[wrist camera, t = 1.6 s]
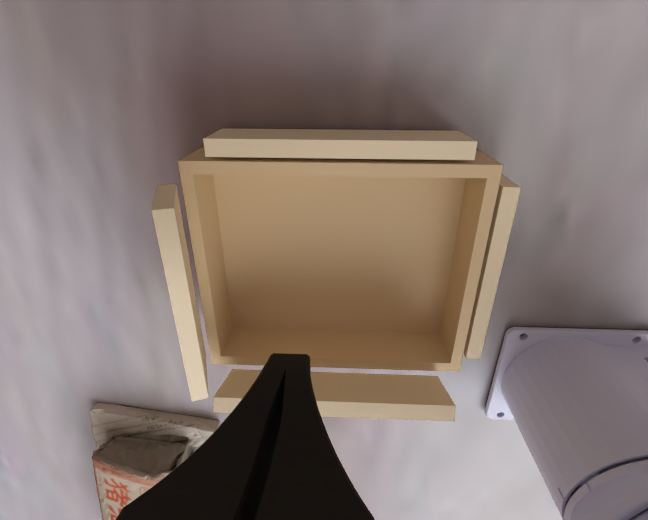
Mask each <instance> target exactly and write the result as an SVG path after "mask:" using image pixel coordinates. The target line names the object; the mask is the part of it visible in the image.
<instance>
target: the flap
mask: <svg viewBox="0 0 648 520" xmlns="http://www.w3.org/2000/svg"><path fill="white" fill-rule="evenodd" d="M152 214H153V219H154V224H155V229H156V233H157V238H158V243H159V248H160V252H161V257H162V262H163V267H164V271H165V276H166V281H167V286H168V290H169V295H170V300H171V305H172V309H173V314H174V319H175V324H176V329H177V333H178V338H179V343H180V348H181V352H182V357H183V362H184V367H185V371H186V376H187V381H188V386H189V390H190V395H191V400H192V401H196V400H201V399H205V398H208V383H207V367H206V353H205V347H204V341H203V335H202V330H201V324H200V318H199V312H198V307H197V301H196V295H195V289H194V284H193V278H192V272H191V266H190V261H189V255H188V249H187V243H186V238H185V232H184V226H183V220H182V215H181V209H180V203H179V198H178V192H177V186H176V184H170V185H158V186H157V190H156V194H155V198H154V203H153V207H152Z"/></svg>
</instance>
